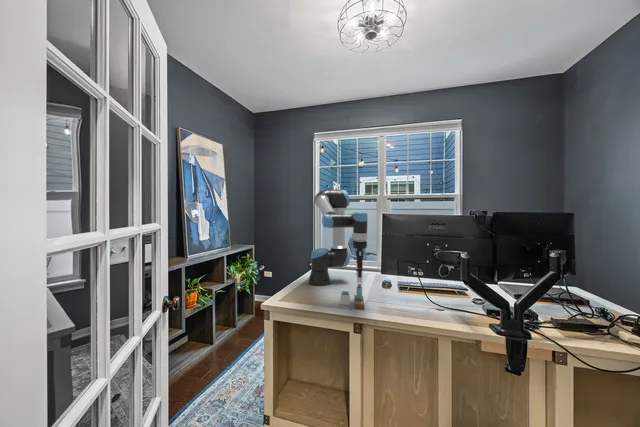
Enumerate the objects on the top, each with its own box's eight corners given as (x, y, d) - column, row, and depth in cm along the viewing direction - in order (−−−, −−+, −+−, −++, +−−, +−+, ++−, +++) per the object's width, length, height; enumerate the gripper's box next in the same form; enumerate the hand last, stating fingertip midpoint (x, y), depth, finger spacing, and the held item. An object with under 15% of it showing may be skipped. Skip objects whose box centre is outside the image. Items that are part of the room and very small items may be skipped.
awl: (356, 298, 147) (357, 283, 147) (362, 299, 147) (362, 283, 146) (356, 300, 145) (356, 285, 144) (361, 301, 144) (362, 285, 144)
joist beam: (354, 299, 153) (354, 295, 153) (363, 299, 153) (363, 295, 153) (354, 309, 140) (354, 304, 139) (364, 309, 139) (364, 304, 139)
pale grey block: (340, 301, 151) (341, 290, 151) (349, 301, 150) (349, 291, 150) (340, 304, 146) (340, 293, 146) (349, 305, 145) (349, 294, 145)
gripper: (352, 236, 157) (352, 272, 159) (353, 244, 133) (352, 286, 134) (365, 237, 157) (364, 272, 158) (368, 244, 132) (367, 287, 133)
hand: (359, 279), depth 146 cm, fingers open, 13 cm apart
